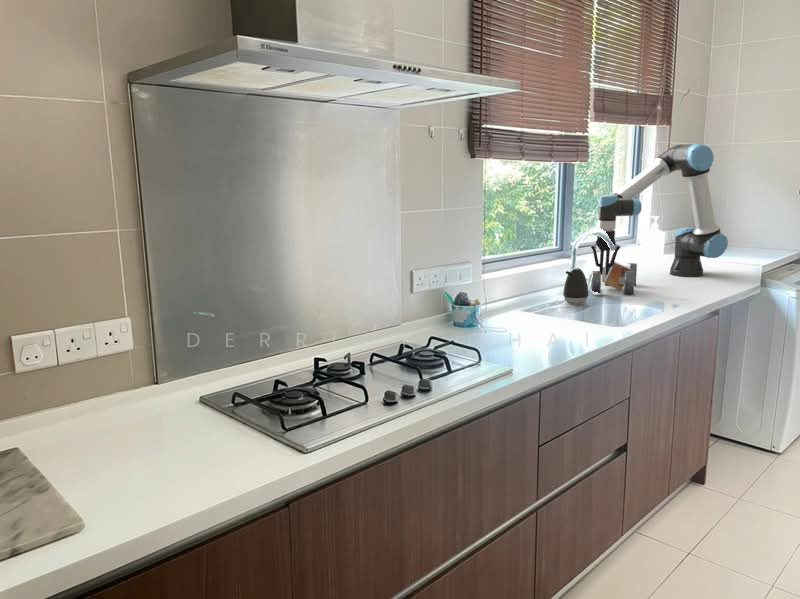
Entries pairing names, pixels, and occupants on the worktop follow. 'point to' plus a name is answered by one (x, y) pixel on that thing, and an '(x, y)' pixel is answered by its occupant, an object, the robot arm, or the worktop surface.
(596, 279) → the spacer field
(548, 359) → the worktop surface
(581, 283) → the pump dispenser
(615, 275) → the small box
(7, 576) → the worktop surface
